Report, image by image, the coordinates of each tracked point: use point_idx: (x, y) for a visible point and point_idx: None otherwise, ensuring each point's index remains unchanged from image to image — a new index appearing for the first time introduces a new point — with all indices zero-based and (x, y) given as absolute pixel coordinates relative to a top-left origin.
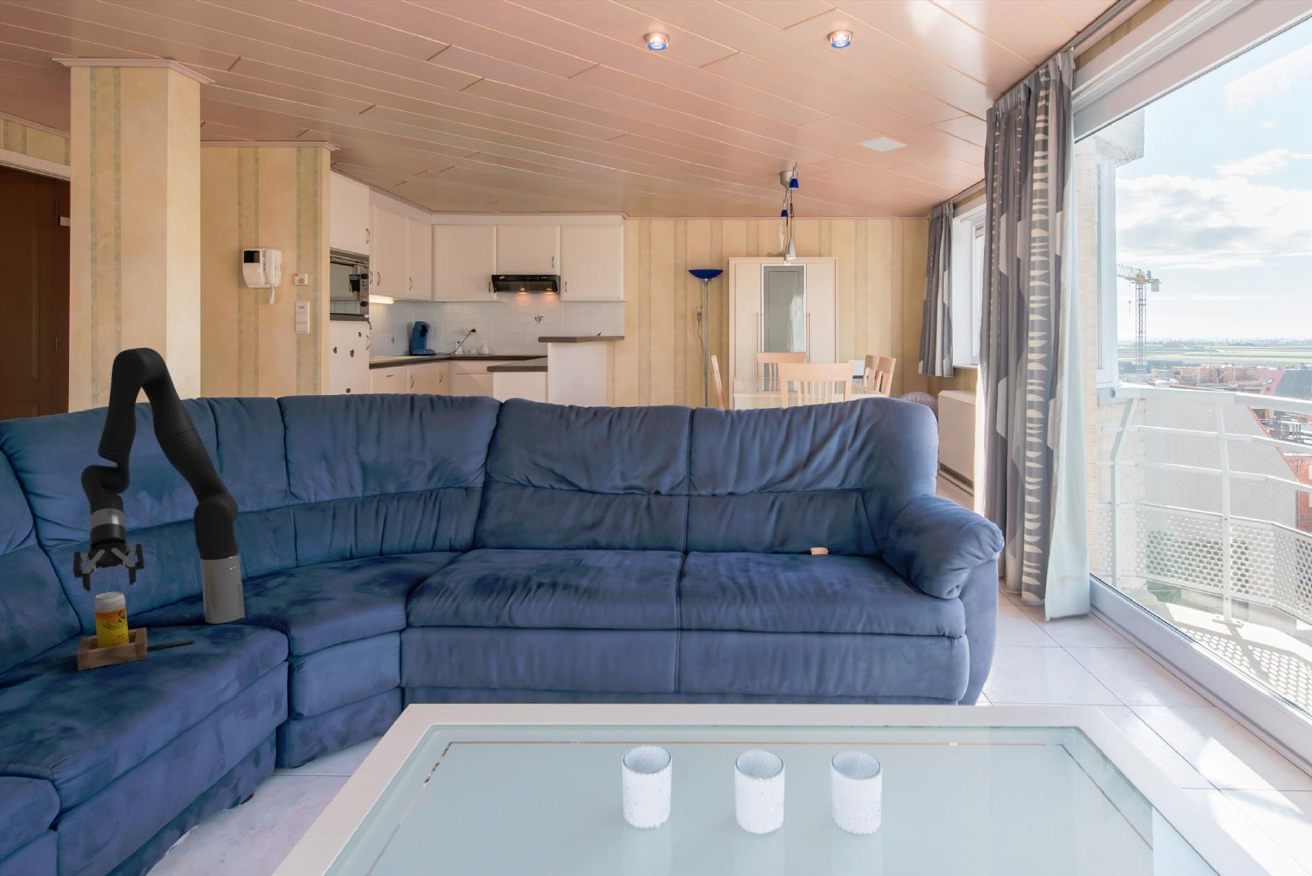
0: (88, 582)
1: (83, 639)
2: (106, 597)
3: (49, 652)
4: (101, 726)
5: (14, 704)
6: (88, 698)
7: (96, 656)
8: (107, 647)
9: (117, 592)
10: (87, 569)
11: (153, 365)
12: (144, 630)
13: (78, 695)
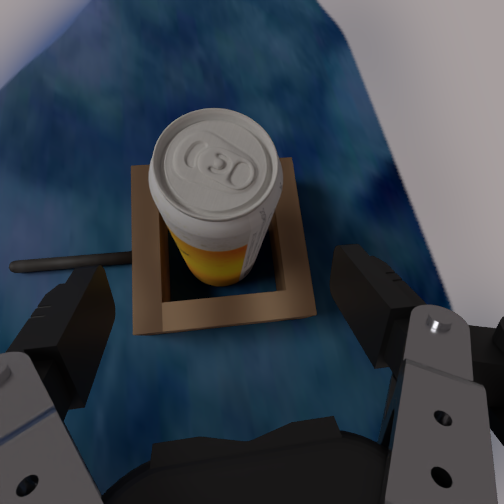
0: (357, 259)
1: (308, 294)
2: (223, 135)
3: None
4: None
5: (352, 64)
6: (232, 29)
7: None
8: None
9: (180, 206)
10: (435, 337)
11: None
12: (136, 299)
13: (253, 51)
